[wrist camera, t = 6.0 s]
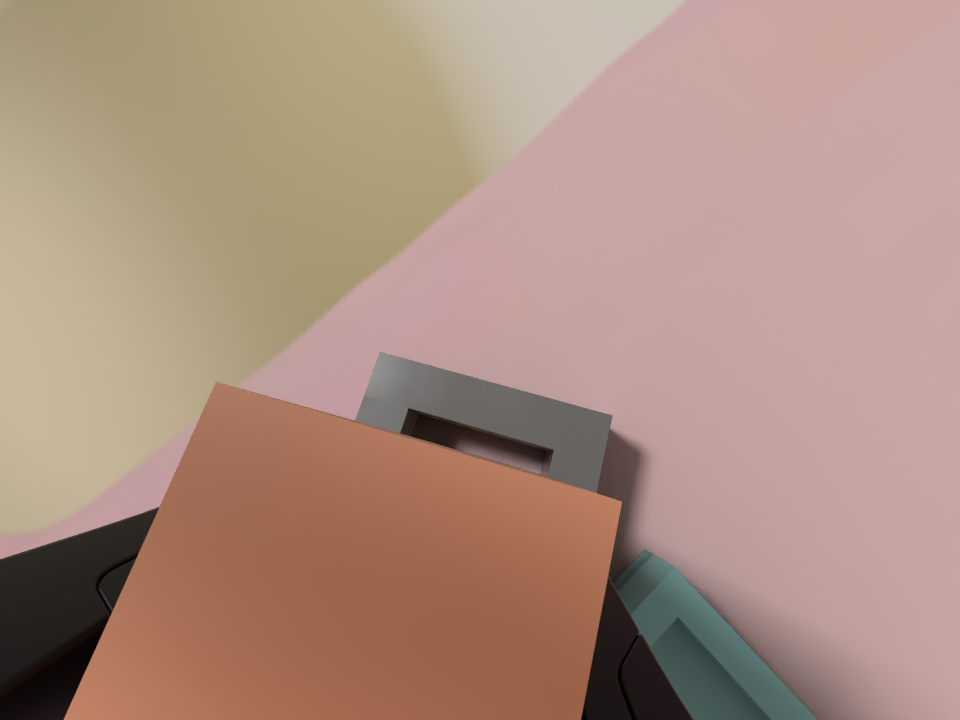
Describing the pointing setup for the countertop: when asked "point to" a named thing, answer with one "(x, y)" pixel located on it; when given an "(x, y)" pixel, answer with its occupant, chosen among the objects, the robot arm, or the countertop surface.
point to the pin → (352, 581)
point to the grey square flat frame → (489, 415)
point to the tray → (702, 649)
